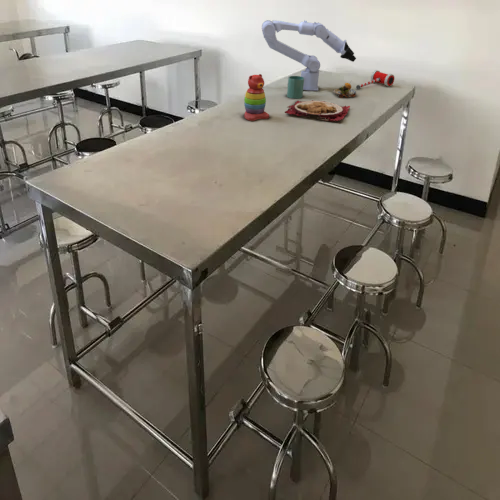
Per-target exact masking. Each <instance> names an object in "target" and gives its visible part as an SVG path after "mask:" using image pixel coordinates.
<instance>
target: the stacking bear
mask: <svg viewBox="0 0 500 500" xmlns="http://www.w3.org/2000/svg"><path fill="white" fill-rule="evenodd" d="M247 85H248V88H247V90H246V91H245V95H244V109H245V111H244V115H243V117H244V119H245V120H247V121H250V122H254V121H256V120H267V119H268V120H269V118H270V114H269V113H268V112H267V111H265V109H266V102H267V100H266V99H267V98H266V93H265V90H264V86H265V79H264V77H263V75H262V74H261V73H259V74H252V75H249V77H248V80H247Z"/></svg>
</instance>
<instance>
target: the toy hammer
mask: <svg viewBox="0 0 500 500" xmlns="http://www.w3.org/2000/svg"><path fill="white" fill-rule="evenodd" d="M394 82H395V75H394V74H392V73H385V72H382V71H380V70H378V69H374V70H373V71H372V72H371V75H370V81H367V82H365V83H361V84H357V85H356V86H355V89H356V90H359V89H361V88H363V87H366V86H369V85H371V84H374V83H378V84H382V85H384V86H385V87H388V88H389V87H392V86H393V84H394Z"/></svg>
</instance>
